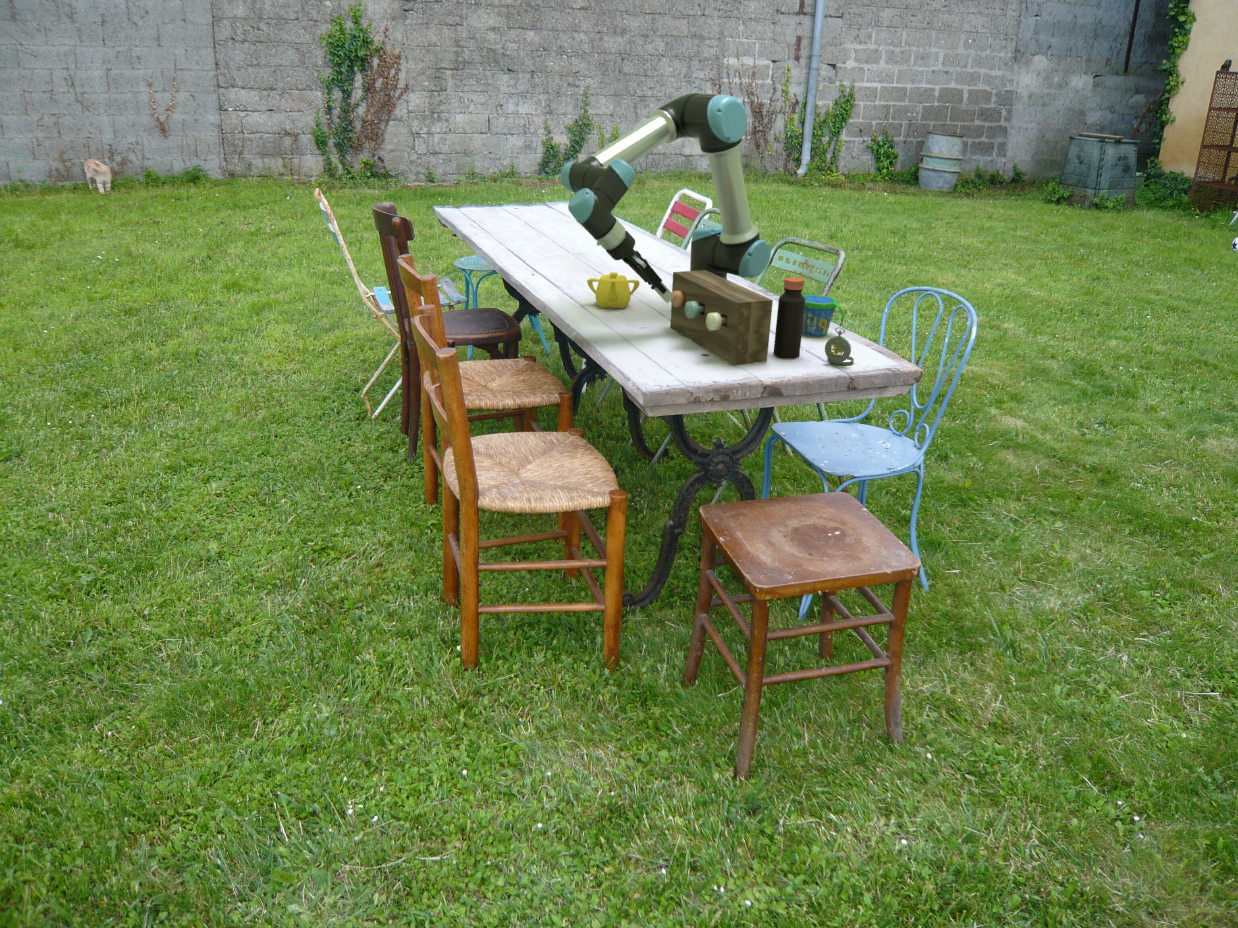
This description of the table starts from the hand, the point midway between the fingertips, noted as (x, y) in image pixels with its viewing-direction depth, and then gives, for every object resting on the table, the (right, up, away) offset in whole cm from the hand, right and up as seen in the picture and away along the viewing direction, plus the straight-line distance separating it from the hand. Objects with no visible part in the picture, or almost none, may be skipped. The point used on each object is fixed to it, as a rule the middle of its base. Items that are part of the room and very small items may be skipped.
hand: (670, 299), depth 252 cm
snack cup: (+41, -9, +9) cm, 43 cm away
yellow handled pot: (-16, +3, +31) cm, 35 cm away
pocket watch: (+42, -19, -15) cm, 49 cm away
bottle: (+30, -17, -10) cm, 36 cm away
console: (+12, -13, -3) cm, 18 cm away
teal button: (+7, -6, -8) cm, 12 cm away
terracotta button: (+4, -2, +2) cm, 5 cm away
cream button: (+11, -11, -18) cm, 24 cm away
